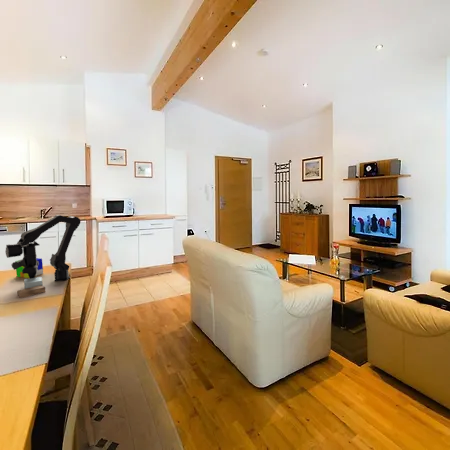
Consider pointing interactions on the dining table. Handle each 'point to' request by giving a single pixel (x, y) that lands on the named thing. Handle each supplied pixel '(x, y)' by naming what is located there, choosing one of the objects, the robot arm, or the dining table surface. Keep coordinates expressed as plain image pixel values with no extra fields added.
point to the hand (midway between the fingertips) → (32, 281)
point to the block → (33, 282)
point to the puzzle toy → (19, 273)
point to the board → (30, 291)
